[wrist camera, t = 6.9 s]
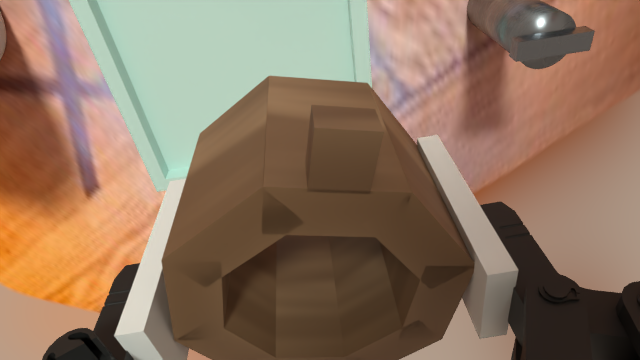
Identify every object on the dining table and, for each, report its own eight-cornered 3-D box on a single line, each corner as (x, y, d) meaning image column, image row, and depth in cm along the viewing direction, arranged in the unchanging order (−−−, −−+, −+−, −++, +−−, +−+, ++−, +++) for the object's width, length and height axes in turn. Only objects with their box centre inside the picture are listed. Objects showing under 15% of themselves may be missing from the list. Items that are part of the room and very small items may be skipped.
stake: (462, -15, 27) (522, 22, 20) (521, -25, 27) (600, 10, 20) (459, 31, 29) (513, 79, 22) (514, 23, 29) (584, 68, 22)
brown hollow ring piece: (191, 22, 13) (137, 116, 8) (446, 44, 14) (537, 140, 9) (209, 270, 19) (184, 406, 14) (380, 272, 20) (412, 400, 15)
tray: (59, -64, 24) (41, -59, 22) (354, -111, 24) (360, -110, 22) (163, 175, 34) (157, 191, 32) (371, 144, 34) (376, 159, 32)
